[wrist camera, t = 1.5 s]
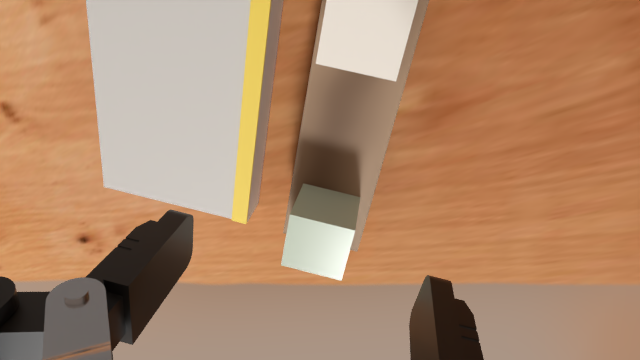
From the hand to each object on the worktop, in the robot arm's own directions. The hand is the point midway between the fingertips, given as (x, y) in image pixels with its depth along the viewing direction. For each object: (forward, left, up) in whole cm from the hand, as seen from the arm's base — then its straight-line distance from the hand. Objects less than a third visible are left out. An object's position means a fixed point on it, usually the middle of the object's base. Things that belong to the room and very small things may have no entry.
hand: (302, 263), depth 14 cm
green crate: (0, +7, -13) cm, 15 cm away
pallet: (0, 0, -18) cm, 18 cm away
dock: (+12, 0, -18) cm, 21 cm away
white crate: (0, -6, -13) cm, 15 cm away
